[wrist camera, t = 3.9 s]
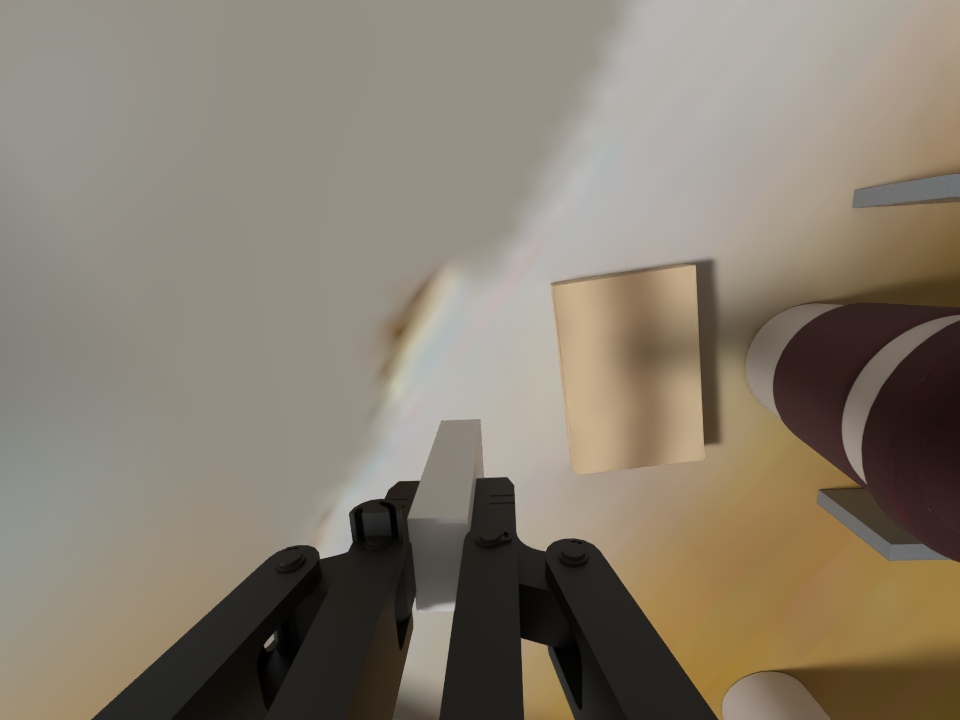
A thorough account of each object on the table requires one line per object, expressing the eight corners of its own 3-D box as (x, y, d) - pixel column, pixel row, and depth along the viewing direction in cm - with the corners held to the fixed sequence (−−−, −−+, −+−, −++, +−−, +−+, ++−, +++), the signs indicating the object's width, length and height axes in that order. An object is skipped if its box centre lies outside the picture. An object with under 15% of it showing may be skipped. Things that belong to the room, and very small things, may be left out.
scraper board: (569, 457, 32) (575, 475, 30) (549, 282, 30) (553, 285, 27) (688, 443, 32) (704, 459, 29) (679, 263, 29) (695, 264, 26)
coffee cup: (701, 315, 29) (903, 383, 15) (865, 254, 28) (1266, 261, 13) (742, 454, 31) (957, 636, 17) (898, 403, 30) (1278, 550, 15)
